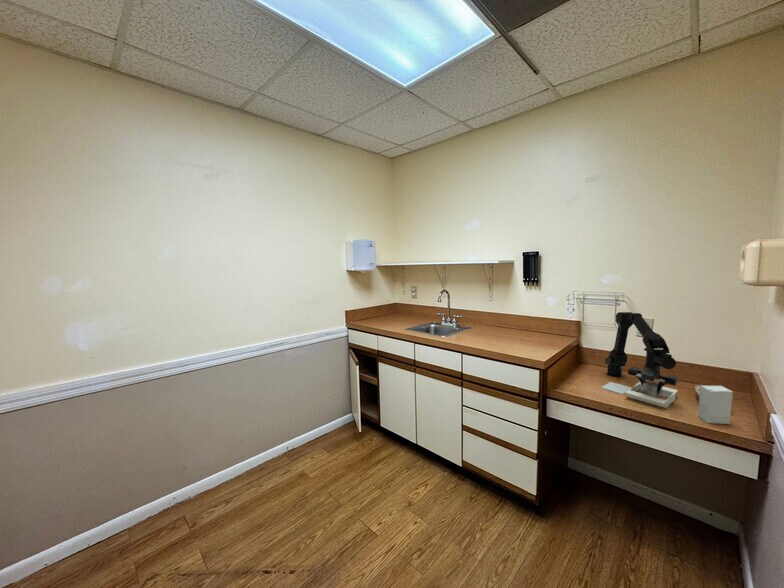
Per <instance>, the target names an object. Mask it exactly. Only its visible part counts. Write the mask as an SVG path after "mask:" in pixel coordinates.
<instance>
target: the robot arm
mask: <svg viewBox="0 0 784 588" xmlns="http://www.w3.org/2000/svg"><path fill="white" fill-rule="evenodd" d="M615 322H616V324H617V331H616V335H615V343H614V346H613V349H612V350H610V352H609V353H608V356H607V357H606V358H605V360H604V362H605V363H604V364H606V365H607V371H606V375H608V376H610V377H611V376H612V377H613V378H614V377H616V378H621V377H622V376H623V373H624V372H623V371H624V368H623V367H625V366H626V363H627V362H628V358H629V357H628V355H627V354H626V352H625V350H626V343H627V338H628V334H629V329H630V328H631V327H632V326H633V325H634V326H635V328H636V329H637V331H638V332H639V333H640V334H641V336H642V342H643V344H644V346H645V348H643V351H645V354H646V355H645V356H646V357H645V363H644V368H643V369H641V368H638V367H635V366H632V367H631V368H628V370H627V374H628V375H629V376H633V377H635V378H636V379H638V381H639V382H641V385H642V387H643V383H645V382H646V381H648V380H649V381H655V380H659V381H658V384H659V385H658V389H657V394H659V392H660V391H661V389H662V387H665V386H667V385H671V386H676V385H678V384H679V382H680V381H679V377H678V376H675V375H672V374H671V375H670V374H667V375H665V376H664V375H661V368H664V369H666V370H672V369H674V368H676V365H677V362H676V359H675V358H673V355H672V354H670V348H669V346H668V345H667V341H666V340H665V339H664V338H663V336H661V334H659V333H657V332H654V330H653V329H652V328H651V327H650V325H649V324H648V323H647V321H646V320H645V319H644V317H643V314H641V313H639V312H632V311H619V312H617V313H616V315H615Z"/></svg>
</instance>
